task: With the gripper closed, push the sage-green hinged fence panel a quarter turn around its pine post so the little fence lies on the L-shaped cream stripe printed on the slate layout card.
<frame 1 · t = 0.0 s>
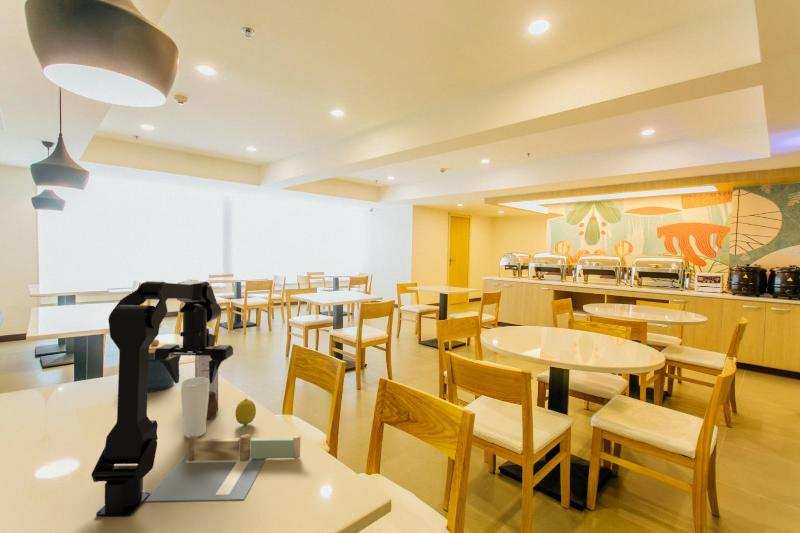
hand: (194, 382, 101), 15 cm above the table, tool pointing down, fingers open, 9 cm apart
lemon: (245, 426, 108), on the table
white tumbler: (195, 434, 103), on the table
canister: (154, 386, 137), on the table
utensil holder: (205, 417, 113), on the table
layout card: (214, 473, 85), on the table
fence panel: (275, 447, 91), point 3 cm above the table, hinge at 0.0°
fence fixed: (244, 459, 91), resting on layout card
cracker box: (205, 404, 123), on the table
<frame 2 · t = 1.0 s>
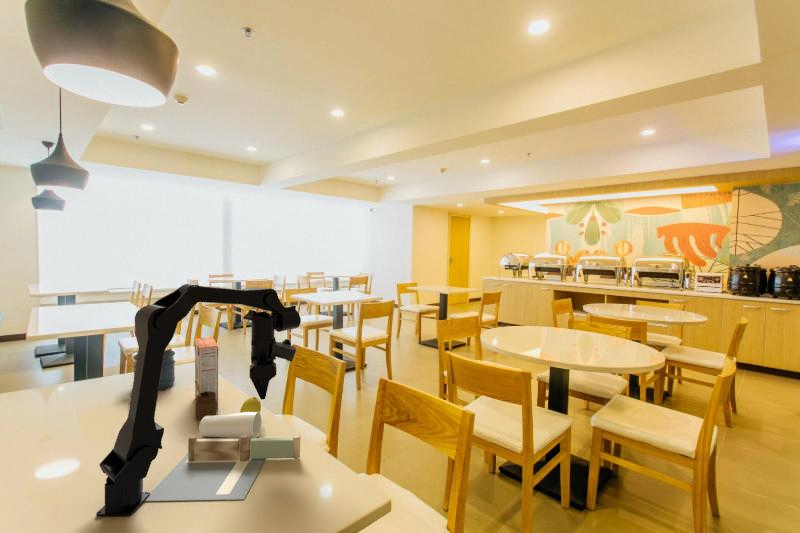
hand: (262, 392, 98), 14 cm above the table, tool pointing down, fingers open, 9 cm apart
white tumbler: (202, 426, 102), point 3 cm above the table
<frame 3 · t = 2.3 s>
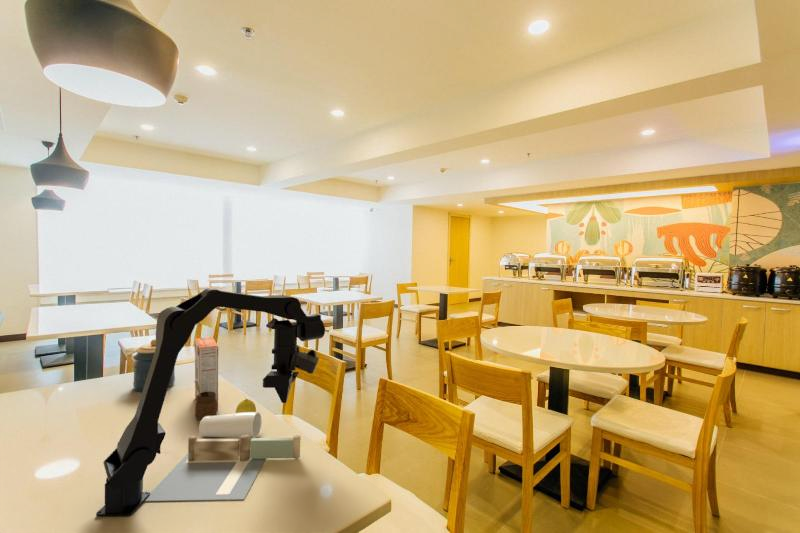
hand: (284, 402, 97), 12 cm above the table, tool pointing down, fingers closed
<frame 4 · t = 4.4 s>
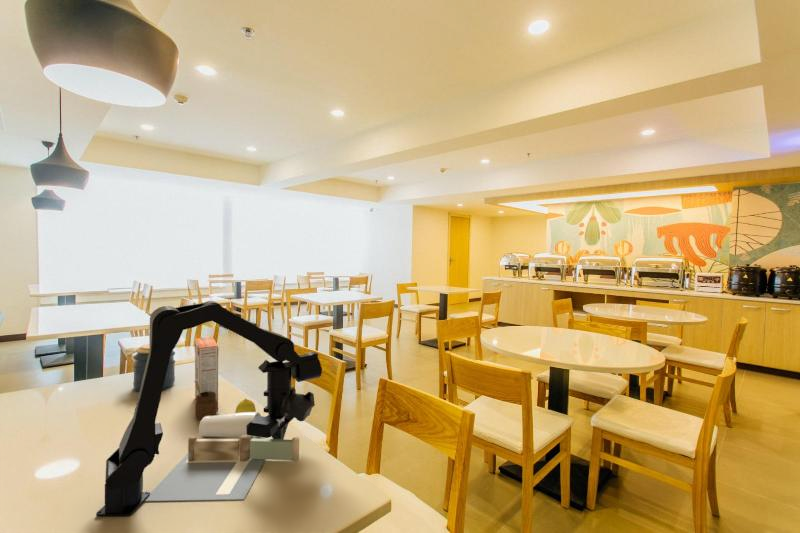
hand: (279, 445, 93), 2 cm above the table, tool pointing down, fingers closed
fence panel: (275, 448, 91), point 3 cm above the table, hinge at 4.6°, touching gripper
everything else where it was.
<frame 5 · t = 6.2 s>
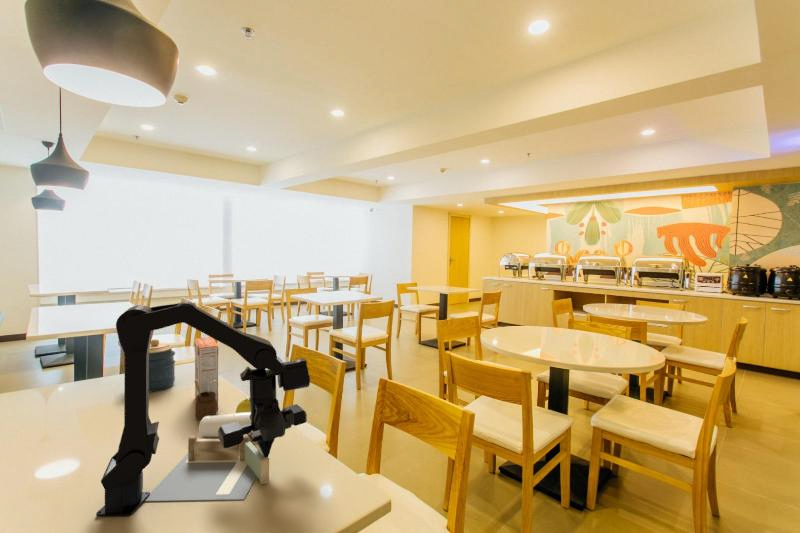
hand: (265, 459, 86), 3 cm above the table, tool pointing down, fingers closed
fence panel: (256, 460, 85), point 3 cm above the table, hinge at 52.3°, touching gripper
everything else where it was.
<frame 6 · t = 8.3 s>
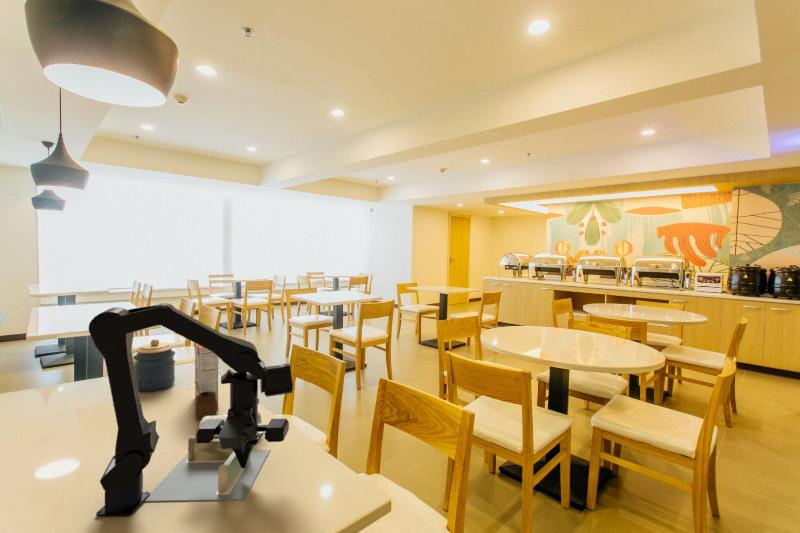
hand: (244, 467, 83), 3 cm above the table, tool pointing down, fingers closed
fence panel: (232, 464, 83), point 3 cm above the table, hinge at 91.4°
everything else where it was.
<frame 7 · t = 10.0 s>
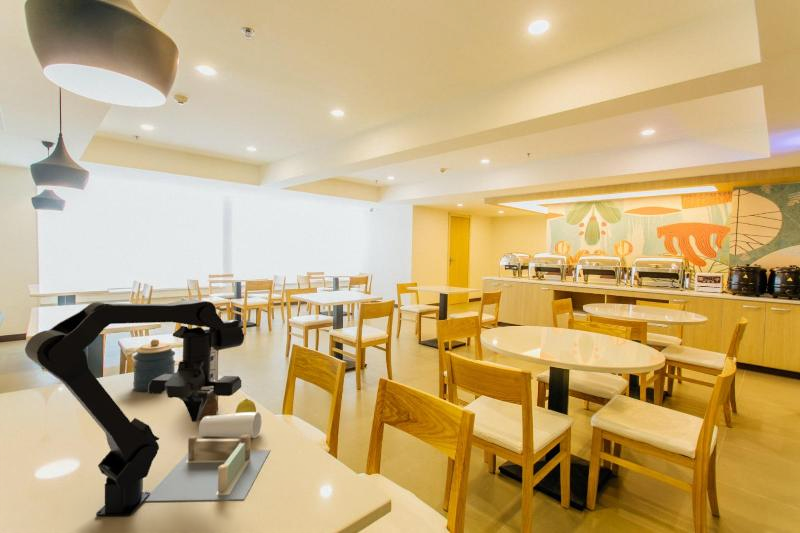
hand: (195, 421, 85), 12 cm above the table, tool pointing down, fingers closed
nothing on the table moved.
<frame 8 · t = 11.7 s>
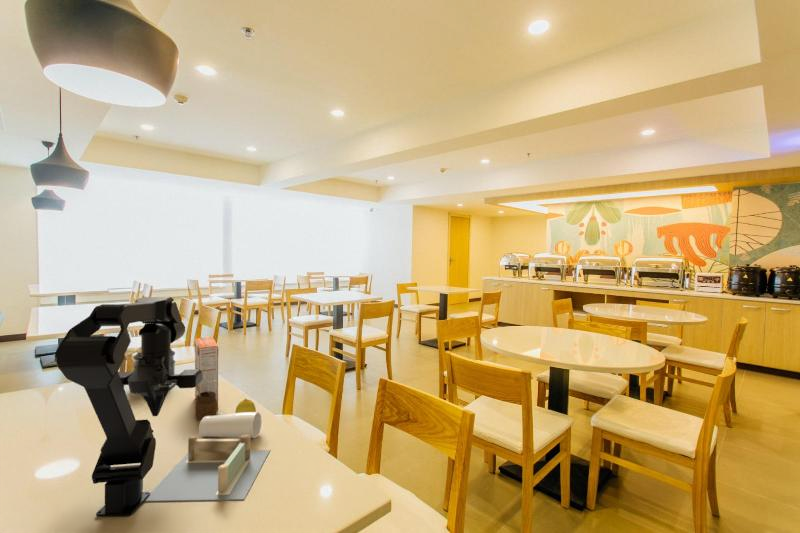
hand: (155, 415, 87), 12 cm above the table, tool pointing down, fingers closed
nothing on the table moved.
at the end: fence panel at +91° (first picture: +0°); lemon moved 0.2 cm from its start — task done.
